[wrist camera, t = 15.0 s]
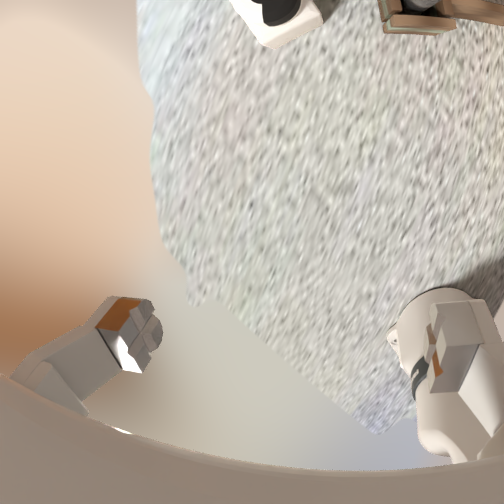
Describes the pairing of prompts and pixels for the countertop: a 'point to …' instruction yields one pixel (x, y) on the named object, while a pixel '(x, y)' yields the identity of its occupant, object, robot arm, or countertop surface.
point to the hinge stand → (438, 16)
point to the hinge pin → (416, 6)
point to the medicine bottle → (278, 19)
